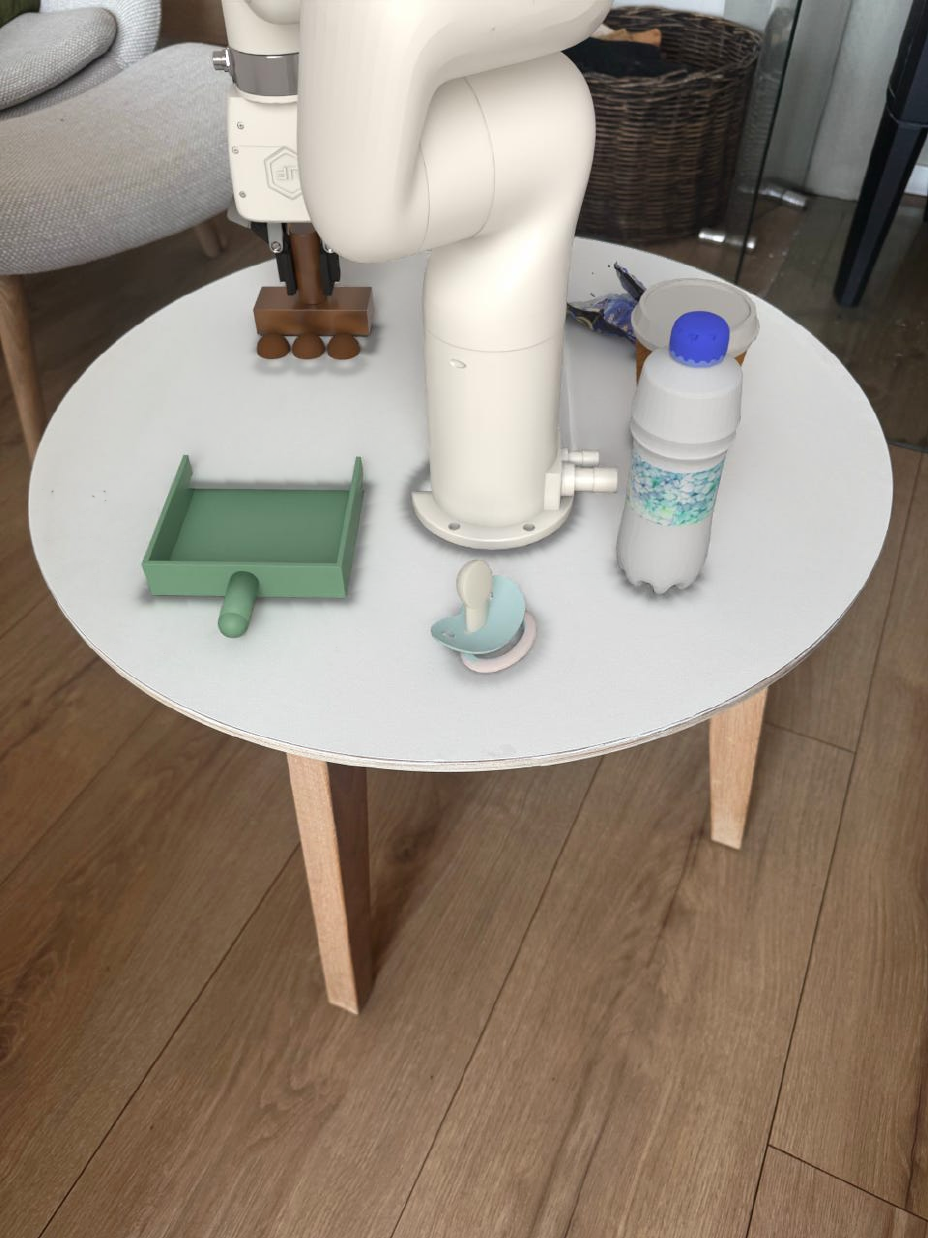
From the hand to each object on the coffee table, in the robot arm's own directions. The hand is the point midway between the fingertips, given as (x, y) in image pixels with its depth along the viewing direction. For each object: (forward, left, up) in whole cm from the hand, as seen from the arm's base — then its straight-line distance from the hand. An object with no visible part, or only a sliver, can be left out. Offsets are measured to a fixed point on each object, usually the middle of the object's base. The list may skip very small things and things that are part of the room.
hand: (311, 286), depth 90 cm
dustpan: (0, +31, -5) cm, 32 cm away
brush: (0, 0, -5) cm, 5 cm away
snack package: (-28, -3, -5) cm, 28 cm away
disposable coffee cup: (-32, +15, -5) cm, 36 cm away
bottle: (-29, +31, -5) cm, 43 cm away
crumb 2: (0, +4, -4) cm, 6 cm away
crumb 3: (-3, +4, -4) cm, 7 cm away
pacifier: (-17, +38, -5) cm, 42 cm away
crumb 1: (+3, +4, -4) cm, 7 cm away
